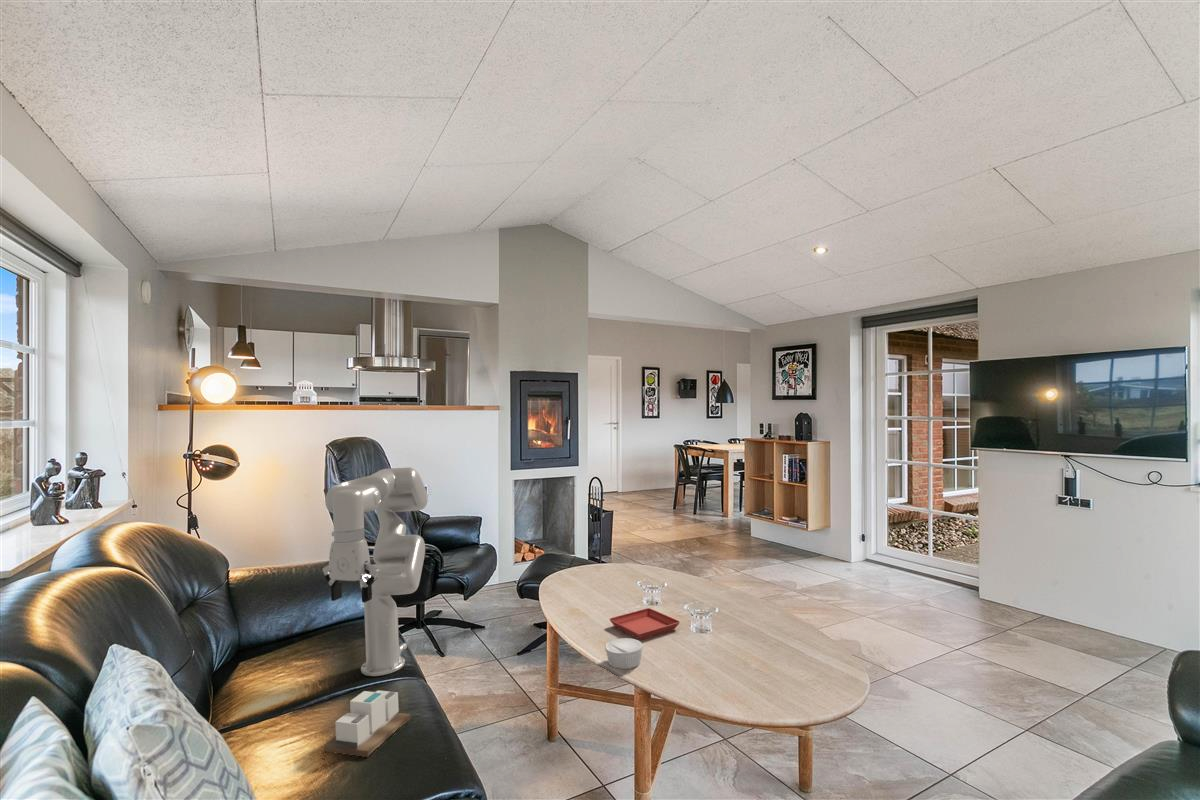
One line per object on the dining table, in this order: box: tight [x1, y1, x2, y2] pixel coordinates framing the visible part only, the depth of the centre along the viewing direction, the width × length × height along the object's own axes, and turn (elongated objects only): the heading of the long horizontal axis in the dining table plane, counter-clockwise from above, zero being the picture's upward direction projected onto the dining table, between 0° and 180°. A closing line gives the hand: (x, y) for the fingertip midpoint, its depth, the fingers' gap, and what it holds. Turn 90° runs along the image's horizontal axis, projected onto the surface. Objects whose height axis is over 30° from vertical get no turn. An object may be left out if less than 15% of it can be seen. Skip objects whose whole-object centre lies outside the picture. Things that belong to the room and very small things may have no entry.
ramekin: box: [604, 637, 644, 670], centre depth 171 cm, size 11×11×5 cm
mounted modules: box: [334, 689, 400, 746], centre depth 138 cm, size 15×6×5 cm, turn 164°
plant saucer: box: [609, 607, 681, 641], centre depth 197 cm, size 18×18×3 cm
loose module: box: [349, 690, 386, 733], centre depth 138 cm, size 5×6×7 cm
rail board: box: [323, 711, 411, 756], centre depth 138 cm, size 16×12×3 cm
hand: (351, 600), depth 152 cm, fingers open, 9 cm apart
